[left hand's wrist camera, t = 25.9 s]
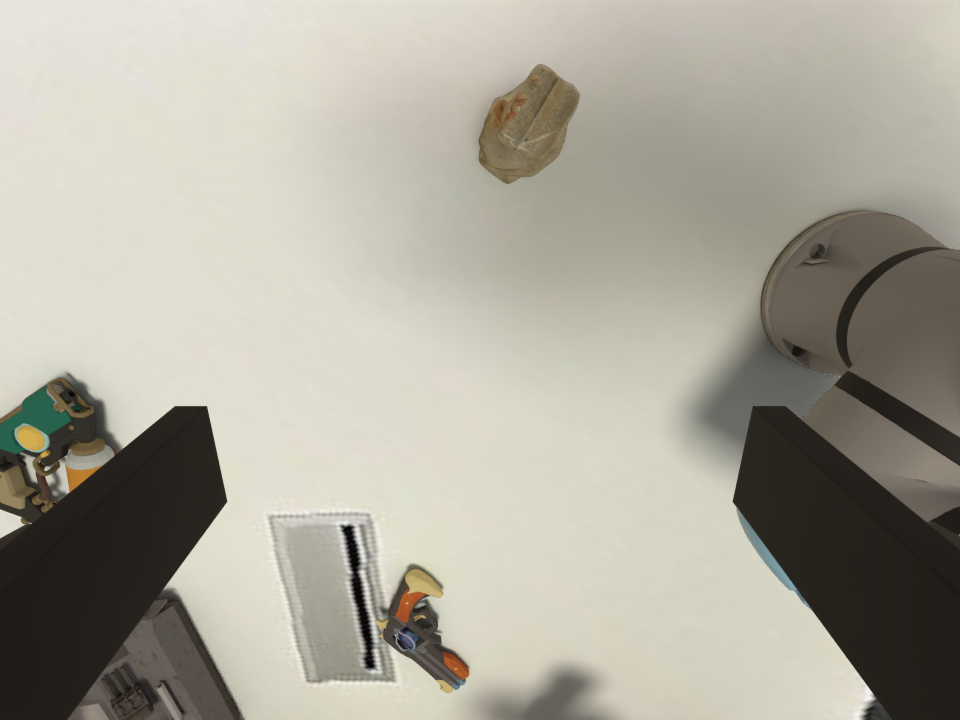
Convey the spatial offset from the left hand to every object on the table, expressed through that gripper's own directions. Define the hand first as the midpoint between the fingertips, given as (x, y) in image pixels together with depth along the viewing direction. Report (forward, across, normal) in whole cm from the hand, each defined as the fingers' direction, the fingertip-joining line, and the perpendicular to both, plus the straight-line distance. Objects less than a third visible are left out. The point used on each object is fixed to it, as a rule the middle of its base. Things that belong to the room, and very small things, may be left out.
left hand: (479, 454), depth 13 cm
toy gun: (+38, -6, -49) cm, 62 cm away
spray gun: (+38, -46, -23) cm, 64 cm away
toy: (+38, -45, -56) cm, 81 cm away
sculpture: (+38, +3, +8) cm, 39 cm away
